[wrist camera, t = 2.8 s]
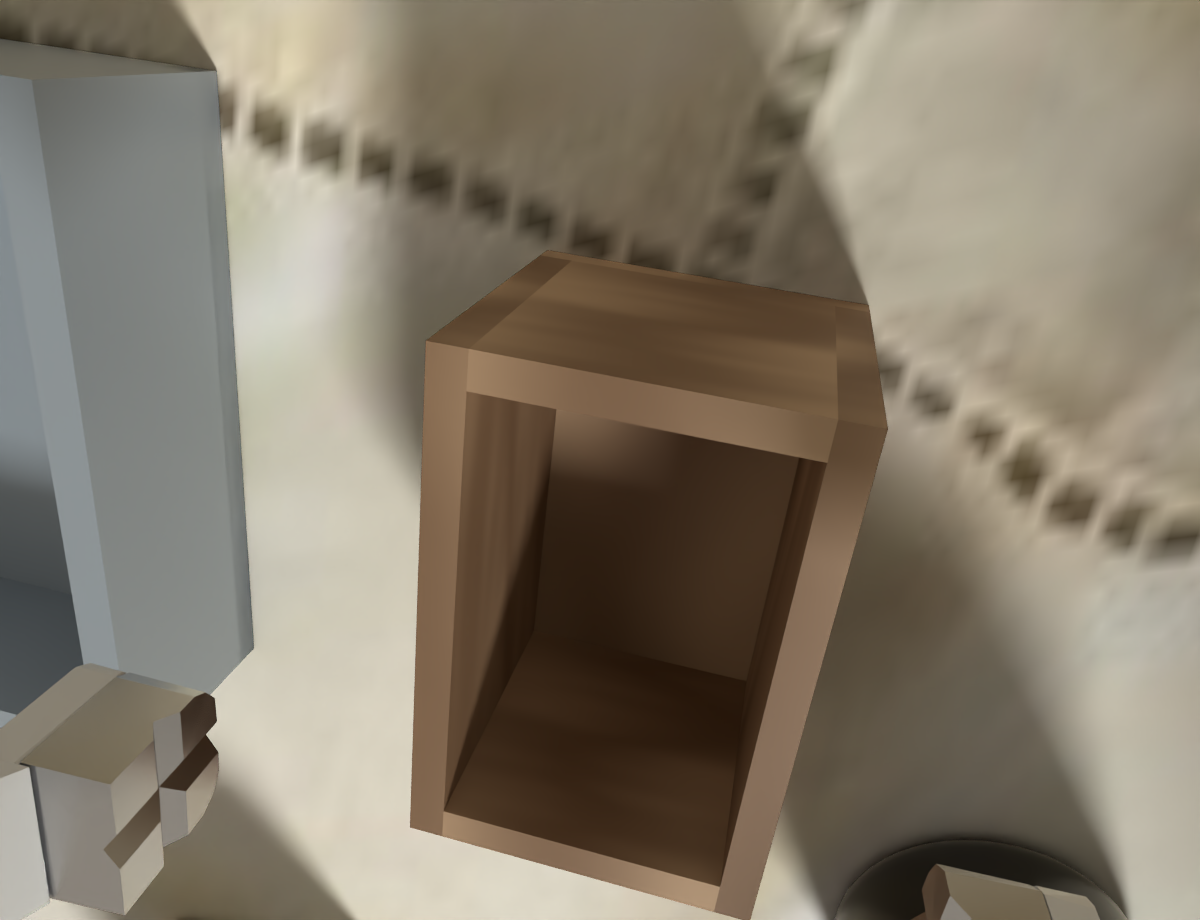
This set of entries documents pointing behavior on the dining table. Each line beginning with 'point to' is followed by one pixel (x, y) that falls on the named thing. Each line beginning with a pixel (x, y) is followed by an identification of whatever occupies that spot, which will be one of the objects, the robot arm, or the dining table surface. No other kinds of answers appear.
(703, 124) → the dining table surface
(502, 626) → the walnut crate
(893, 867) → the supplement bottle
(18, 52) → the grey crate
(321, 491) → the dining table surface
